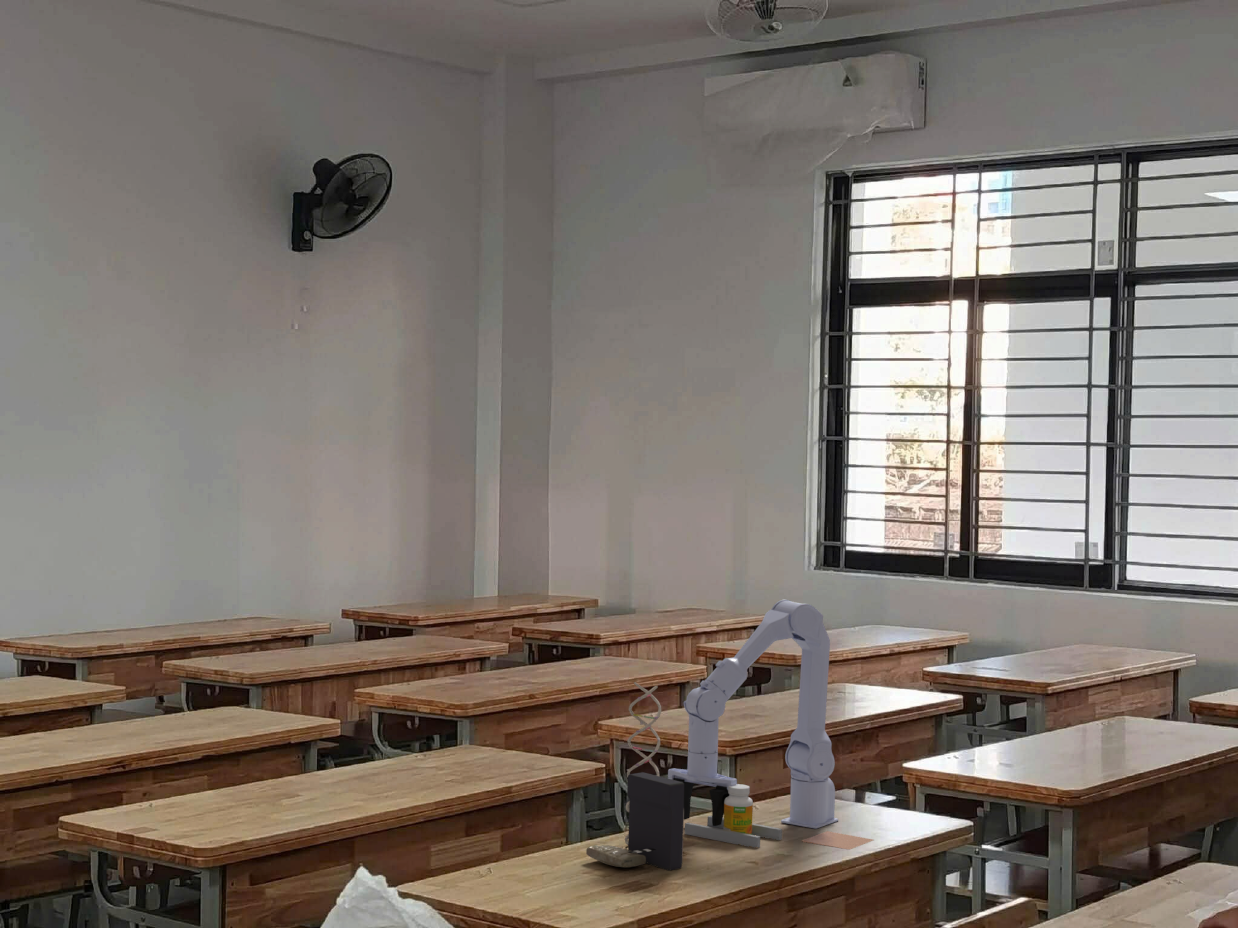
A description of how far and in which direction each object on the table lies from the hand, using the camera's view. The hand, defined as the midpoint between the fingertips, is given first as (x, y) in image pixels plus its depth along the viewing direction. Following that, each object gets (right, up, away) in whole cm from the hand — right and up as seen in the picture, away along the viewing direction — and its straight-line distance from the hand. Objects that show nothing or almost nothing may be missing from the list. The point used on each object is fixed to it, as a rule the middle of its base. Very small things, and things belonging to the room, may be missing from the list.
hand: (700, 821), depth 298 cm
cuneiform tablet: (-11, 0, -32) cm, 34 cm away
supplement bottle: (+7, -2, -5) cm, 8 cm away
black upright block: (-9, -2, -25) cm, 27 cm away
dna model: (-12, -2, -15) cm, 19 cm away
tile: (+25, -2, -6) cm, 26 cm away
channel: (+6, -2, -4) cm, 7 cm away
